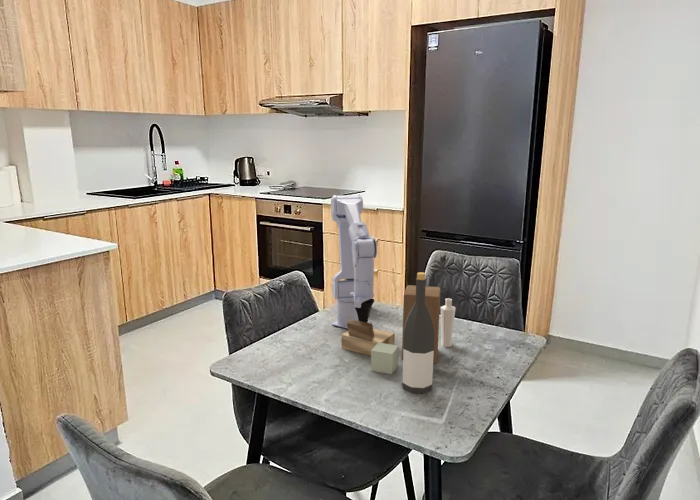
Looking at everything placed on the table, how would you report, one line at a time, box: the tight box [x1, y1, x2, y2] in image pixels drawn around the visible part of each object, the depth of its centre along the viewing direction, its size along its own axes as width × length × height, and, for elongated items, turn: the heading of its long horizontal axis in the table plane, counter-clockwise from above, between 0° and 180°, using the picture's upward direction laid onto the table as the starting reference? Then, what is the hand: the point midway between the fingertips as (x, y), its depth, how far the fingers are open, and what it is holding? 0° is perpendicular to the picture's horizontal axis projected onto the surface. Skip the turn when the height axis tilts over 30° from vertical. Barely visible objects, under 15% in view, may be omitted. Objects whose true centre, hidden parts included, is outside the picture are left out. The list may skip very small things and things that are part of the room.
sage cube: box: [370, 343, 400, 375], centre depth 134 cm, size 6×6×6 cm
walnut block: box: [347, 319, 374, 342], centre depth 144 cm, size 2×8×5 cm, turn 58°
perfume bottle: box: [440, 297, 457, 348], centre depth 149 cm, size 5×4×15 cm
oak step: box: [341, 327, 396, 357], centre depth 148 cm, size 10×13×4 cm
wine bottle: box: [401, 271, 434, 394], centre depth 121 cm, size 8×8×30 cm
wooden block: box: [401, 284, 441, 364], centre depth 141 cm, size 10×10×20 cm
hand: (363, 323), depth 144 cm, fingers closed
